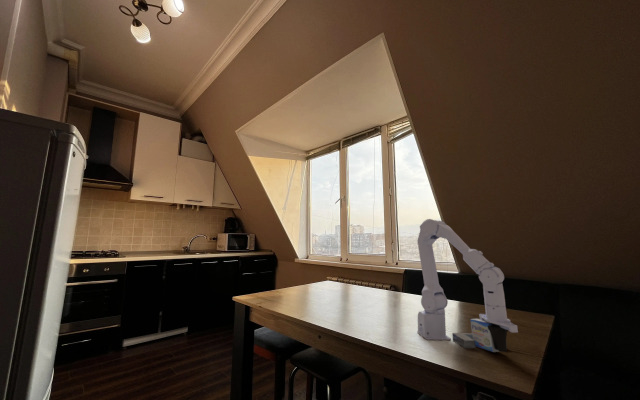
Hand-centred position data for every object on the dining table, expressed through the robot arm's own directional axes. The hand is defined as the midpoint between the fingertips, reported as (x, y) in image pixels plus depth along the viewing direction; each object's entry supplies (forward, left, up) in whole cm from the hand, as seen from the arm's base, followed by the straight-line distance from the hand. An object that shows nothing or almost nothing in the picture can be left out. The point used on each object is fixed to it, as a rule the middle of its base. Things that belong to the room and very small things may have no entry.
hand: (500, 350), depth 83 cm
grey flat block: (-1, +9, -2) cm, 9 cm away
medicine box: (-1, +5, -2) cm, 5 cm away
